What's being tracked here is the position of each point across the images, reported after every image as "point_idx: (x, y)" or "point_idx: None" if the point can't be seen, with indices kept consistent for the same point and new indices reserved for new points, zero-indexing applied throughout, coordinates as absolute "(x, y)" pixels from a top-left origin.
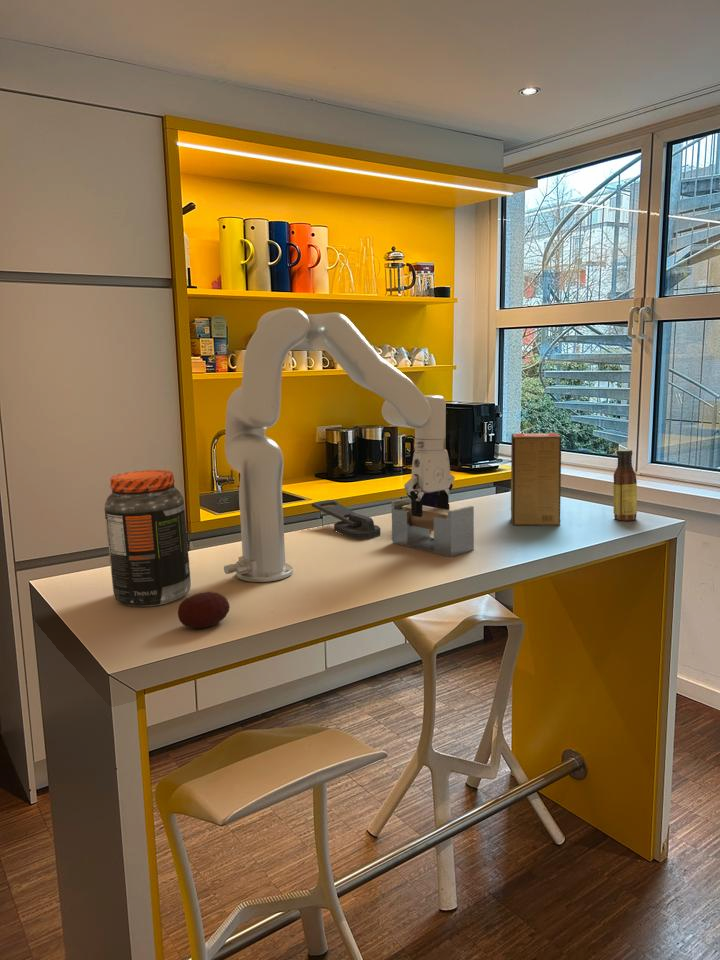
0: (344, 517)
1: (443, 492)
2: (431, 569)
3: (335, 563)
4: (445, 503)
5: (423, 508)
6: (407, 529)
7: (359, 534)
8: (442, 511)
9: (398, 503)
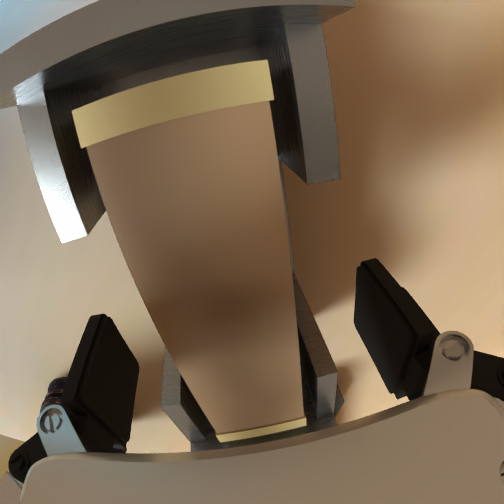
0: None
1: (91, 443)
2: (408, 3)
3: (495, 236)
4: (99, 357)
5: (253, 374)
6: (309, 310)
7: (337, 386)
8: (203, 240)
9: None
